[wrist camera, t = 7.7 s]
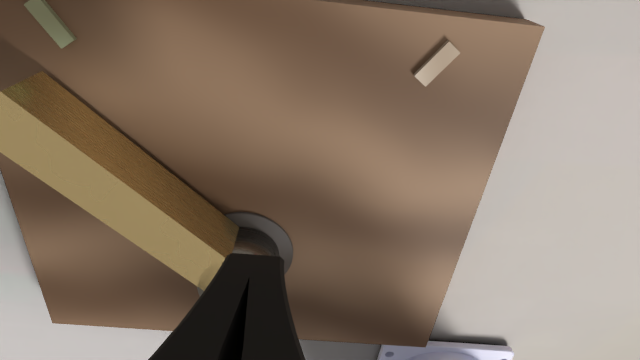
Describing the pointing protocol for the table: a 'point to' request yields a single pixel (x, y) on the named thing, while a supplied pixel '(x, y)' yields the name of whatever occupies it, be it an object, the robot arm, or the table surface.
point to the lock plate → (277, 147)
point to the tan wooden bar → (118, 181)
